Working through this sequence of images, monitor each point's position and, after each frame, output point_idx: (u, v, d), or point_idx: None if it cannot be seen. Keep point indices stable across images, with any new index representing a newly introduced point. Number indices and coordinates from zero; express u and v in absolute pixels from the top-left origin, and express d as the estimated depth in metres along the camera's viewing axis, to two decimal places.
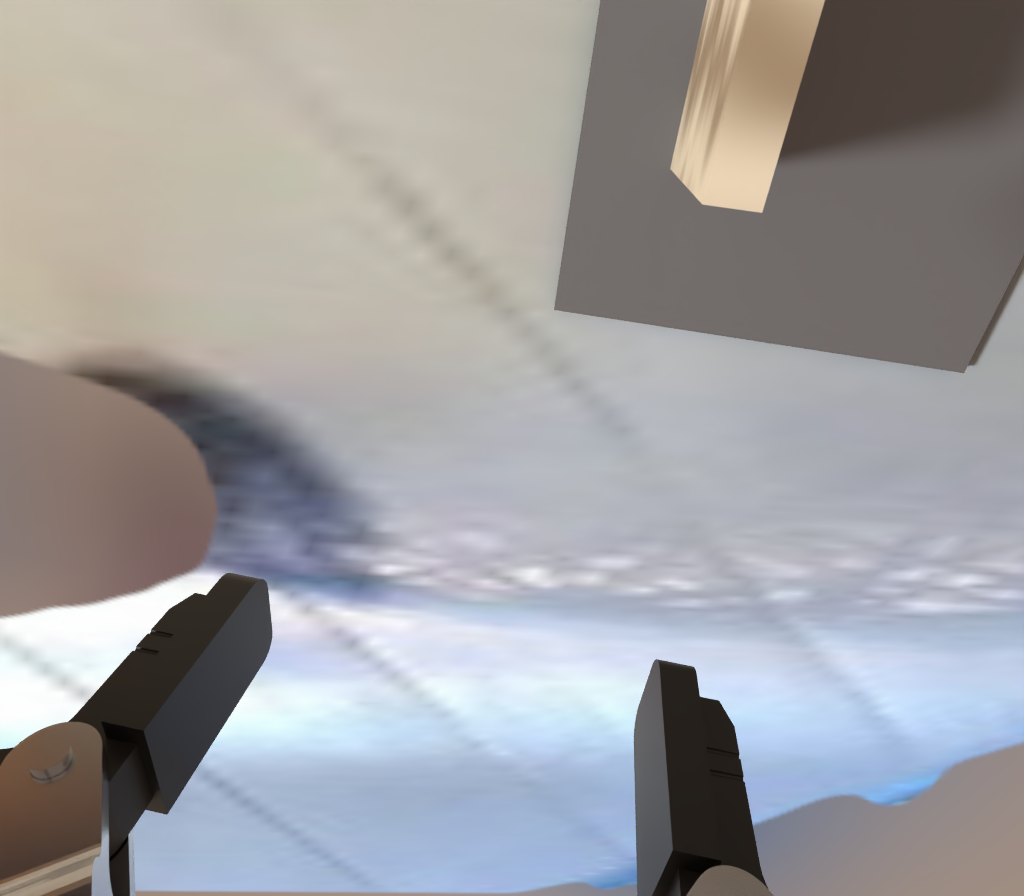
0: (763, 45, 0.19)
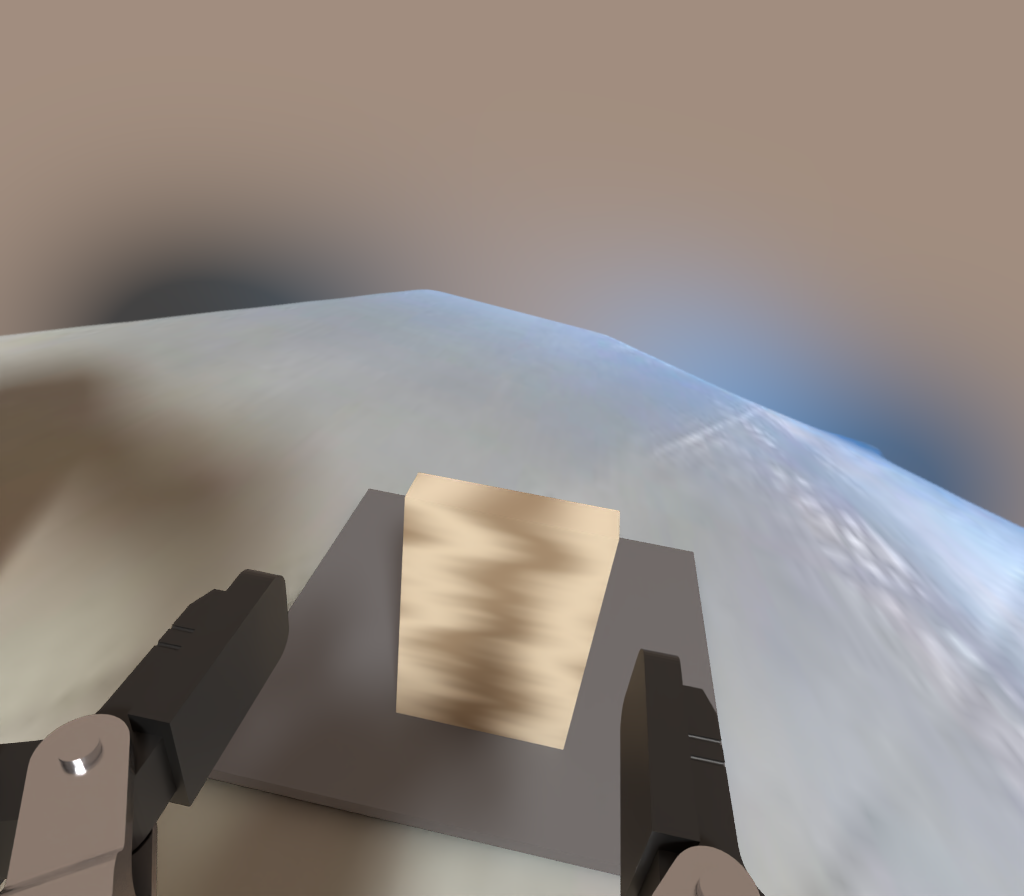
0: (510, 508, 0.26)
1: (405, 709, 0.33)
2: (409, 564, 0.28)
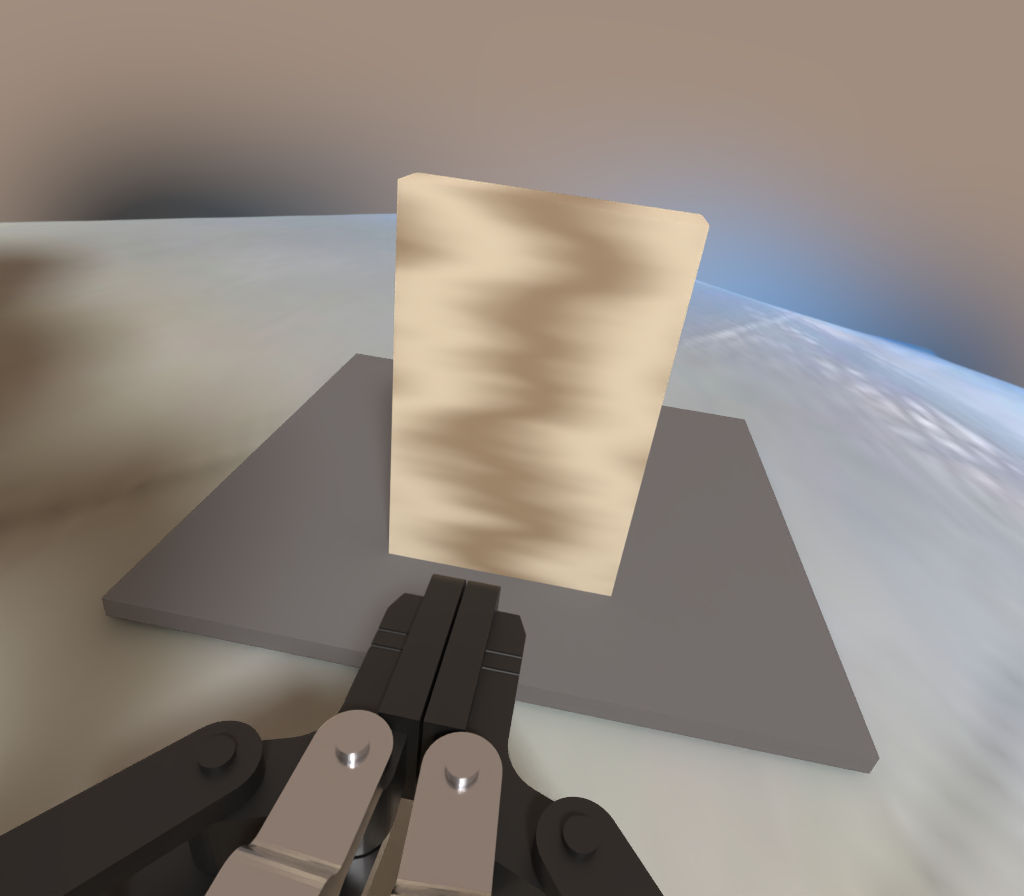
0: (548, 198, 0.18)
1: (401, 547, 0.25)
2: (405, 301, 0.20)
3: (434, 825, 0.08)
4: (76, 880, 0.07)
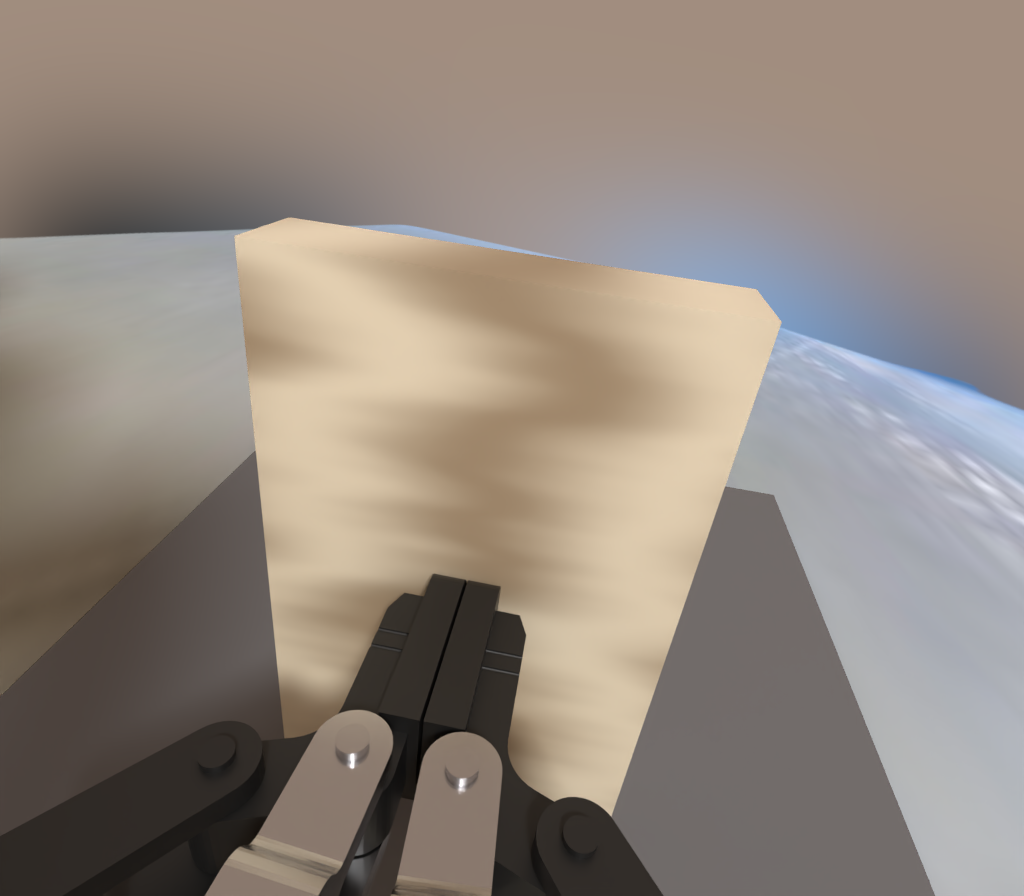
0: (499, 267, 0.11)
1: None
2: (270, 428, 0.12)
3: (434, 825, 0.08)
4: (76, 880, 0.07)
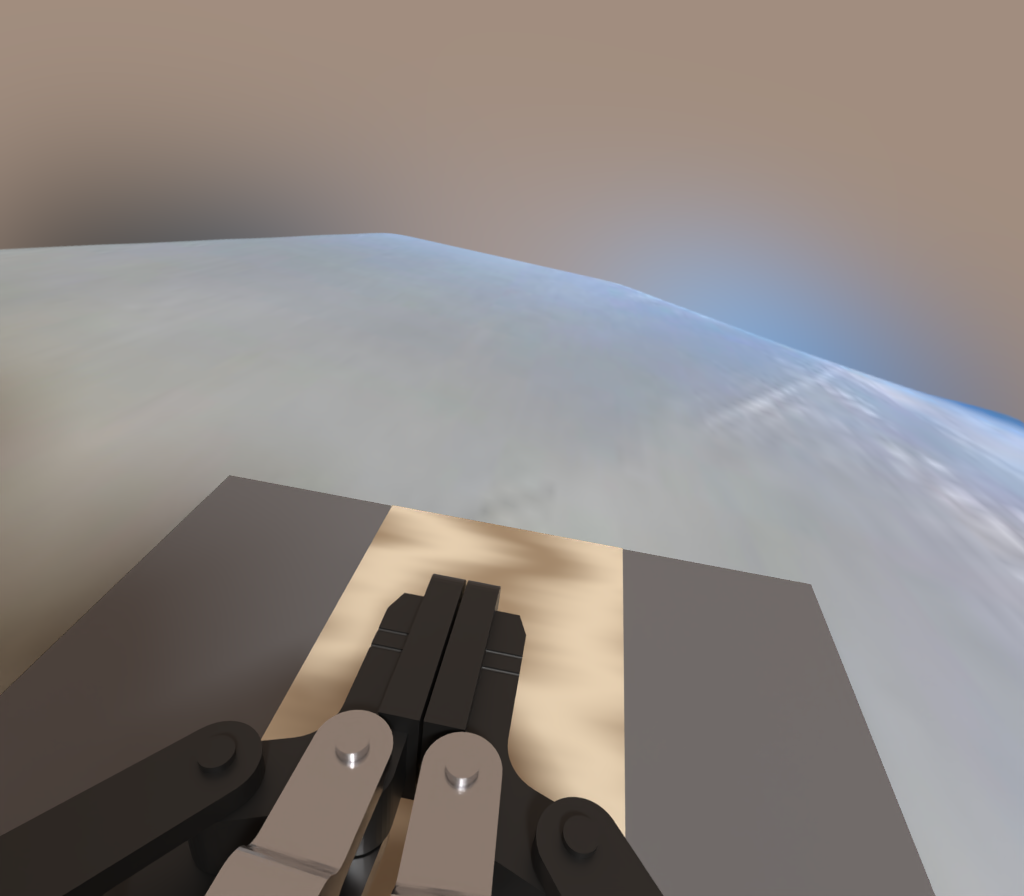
0: None
1: None
2: (369, 566, 0.21)
3: (434, 825, 0.08)
4: (76, 880, 0.07)
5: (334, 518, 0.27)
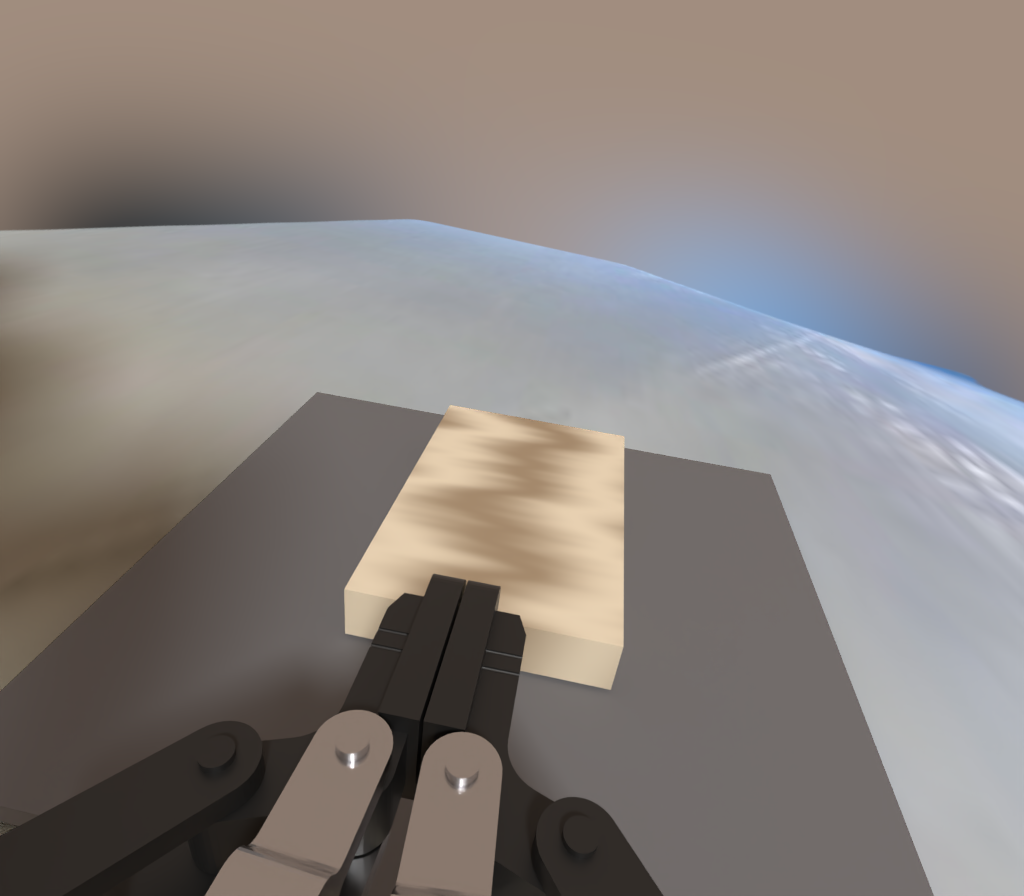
0: None
1: (364, 583, 0.20)
2: (438, 438, 0.29)
3: (434, 825, 0.08)
4: (76, 880, 0.07)
5: (402, 421, 0.34)
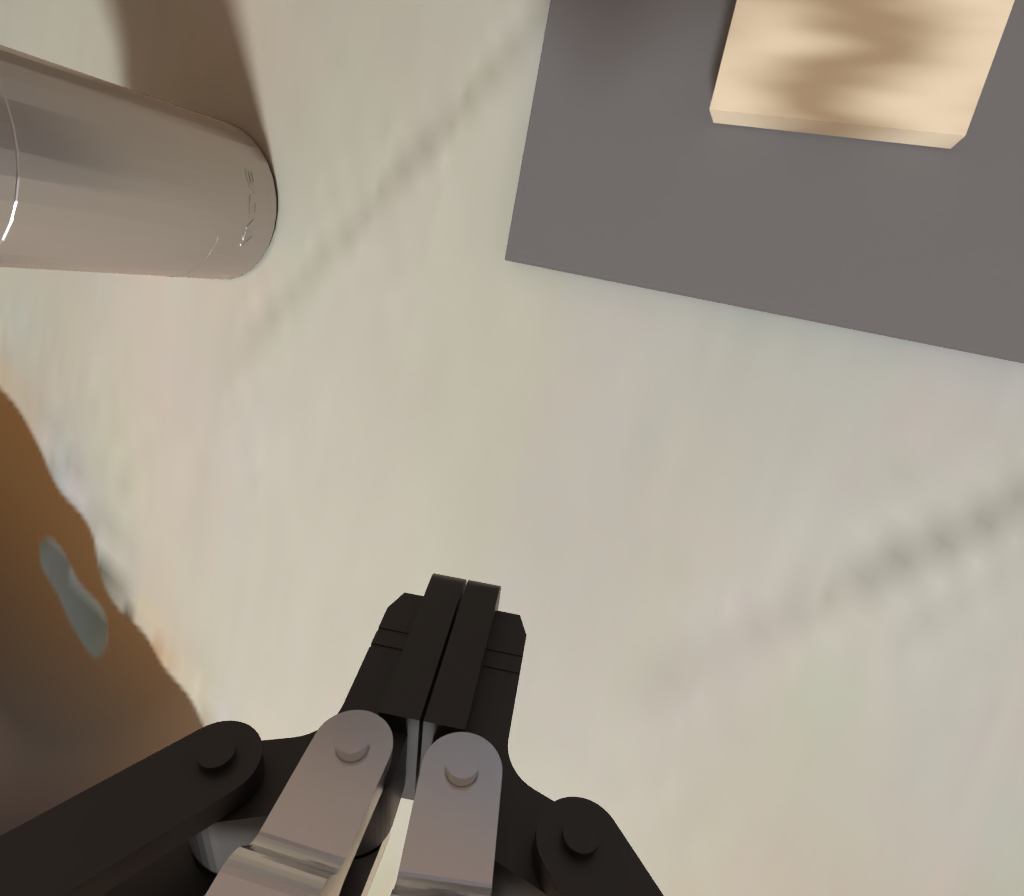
0: None
1: (725, 98, 0.25)
2: None
3: (434, 825, 0.08)
4: (76, 880, 0.07)
5: None
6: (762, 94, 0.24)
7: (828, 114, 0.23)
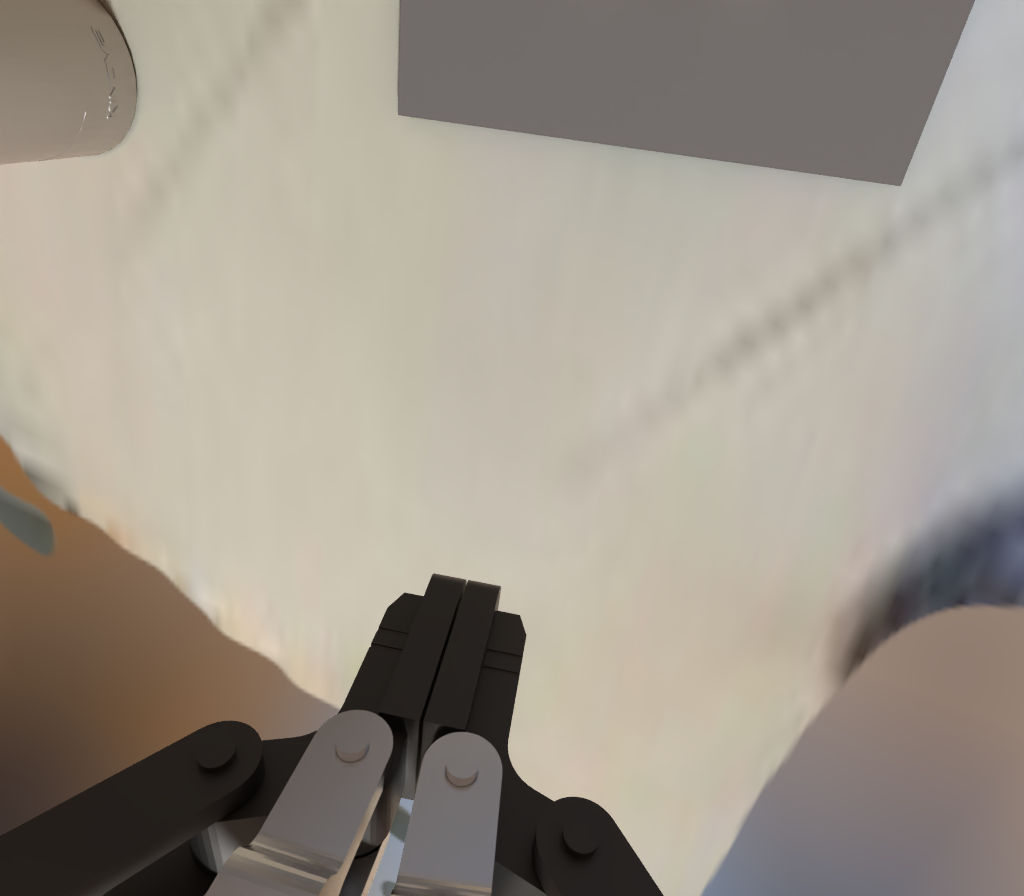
0: None
1: None
2: None
3: (434, 825, 0.08)
4: (76, 880, 0.07)
5: None
6: None
7: None
